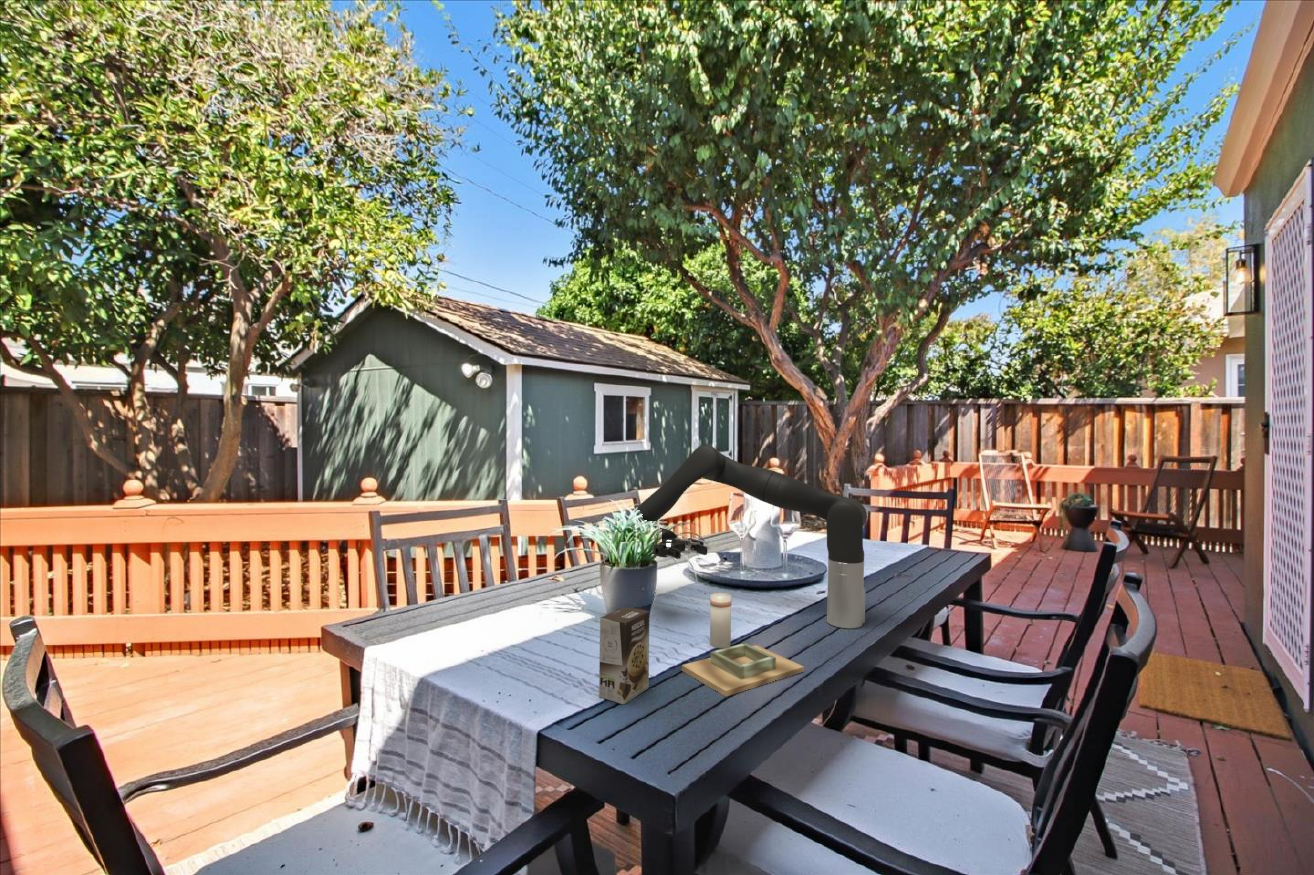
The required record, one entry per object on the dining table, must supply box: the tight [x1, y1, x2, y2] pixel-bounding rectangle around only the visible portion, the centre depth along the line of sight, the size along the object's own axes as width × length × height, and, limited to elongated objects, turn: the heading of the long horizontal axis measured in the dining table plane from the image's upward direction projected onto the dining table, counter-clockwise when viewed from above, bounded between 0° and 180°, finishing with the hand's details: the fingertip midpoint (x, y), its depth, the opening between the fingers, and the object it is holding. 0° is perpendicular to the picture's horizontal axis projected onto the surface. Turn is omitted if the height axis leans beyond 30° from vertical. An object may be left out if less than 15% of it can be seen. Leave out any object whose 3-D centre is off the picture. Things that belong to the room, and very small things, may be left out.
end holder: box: [681, 642, 805, 697], centre depth 139 cm, size 22×15×4 cm
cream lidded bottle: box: [709, 592, 733, 649], centre depth 155 cm, size 5×5×12 cm
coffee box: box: [598, 606, 650, 705], centre depth 128 cm, size 9×6×16 cm
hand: (693, 552), depth 163 cm, fingers open, 8 cm apart
